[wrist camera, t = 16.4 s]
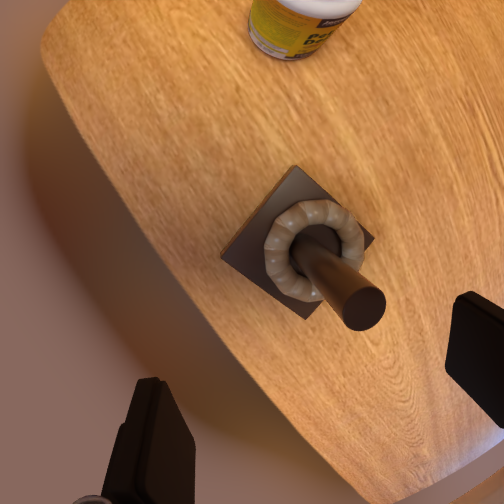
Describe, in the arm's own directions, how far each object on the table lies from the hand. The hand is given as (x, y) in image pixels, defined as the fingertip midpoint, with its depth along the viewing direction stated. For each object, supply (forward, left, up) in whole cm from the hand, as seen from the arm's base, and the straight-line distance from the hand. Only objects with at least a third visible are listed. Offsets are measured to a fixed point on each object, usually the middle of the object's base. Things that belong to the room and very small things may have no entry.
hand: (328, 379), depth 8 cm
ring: (+2, +3, -12) cm, 13 cm away
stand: (+2, +2, -14) cm, 15 cm away
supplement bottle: (-9, +14, -15) cm, 22 cm away
